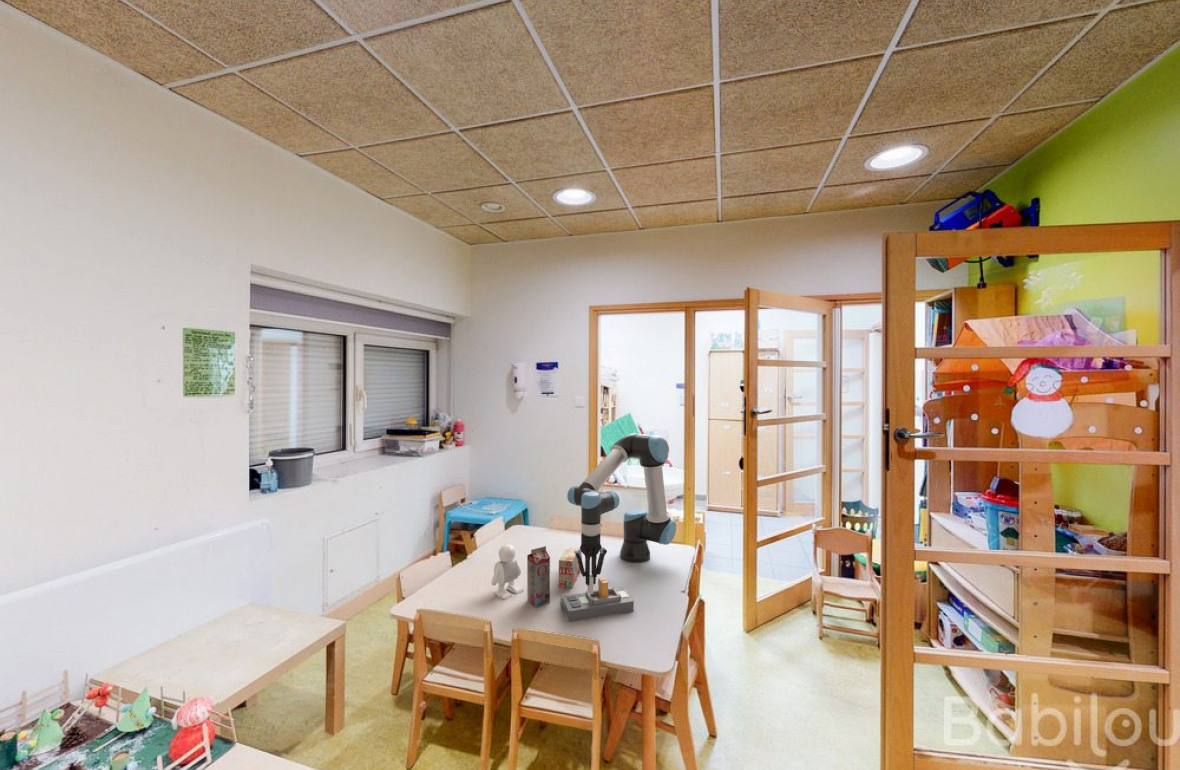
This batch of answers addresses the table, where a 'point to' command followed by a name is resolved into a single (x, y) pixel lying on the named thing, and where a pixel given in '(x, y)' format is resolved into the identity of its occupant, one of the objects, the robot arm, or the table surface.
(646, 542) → the robot arm
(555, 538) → the table surface
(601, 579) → the breaker lever
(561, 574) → the stack of blocks
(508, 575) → the toy robot
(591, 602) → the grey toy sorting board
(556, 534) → the table surface
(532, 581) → the juice carton
